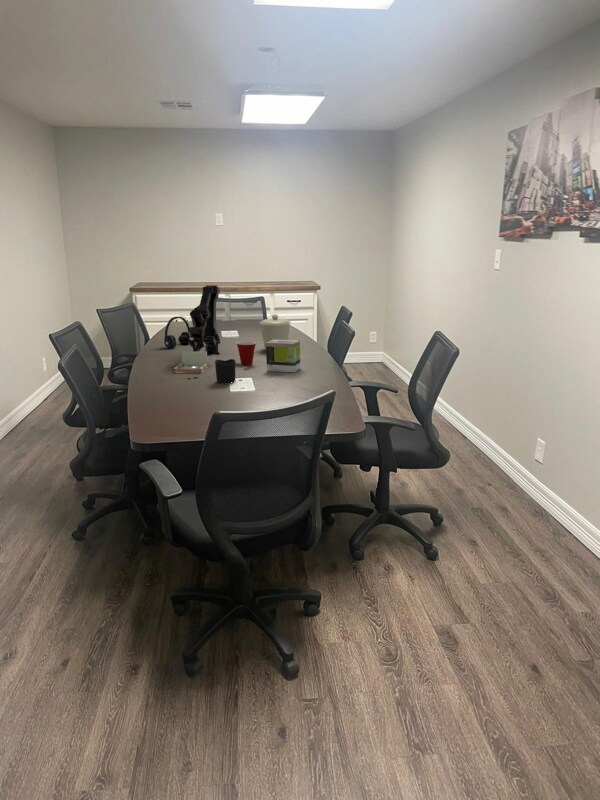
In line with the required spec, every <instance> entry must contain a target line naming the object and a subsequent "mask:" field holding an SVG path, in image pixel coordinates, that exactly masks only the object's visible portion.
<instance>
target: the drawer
mask: <svg viewBox="0 0 600 800" xmlns="http://www.w3.org/2000/svg"><path fill="white" fill-rule="evenodd" d="M181 363H183V365H184V366H186V365H199V369H200V368H201V367H202V366H203V365H204V364H206V363H208V355H207V351H201V350H200V351H193V350H190V351H189V350H185V351H184V350H182V351H181ZM208 364H209V363H208ZM180 369H183V367H182V368H180Z"/></svg>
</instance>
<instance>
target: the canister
mask: <svg viewBox="0 0 600 800" xmlns="http://www.w3.org/2000/svg"><path fill="white" fill-rule="evenodd" d="M291 323H292V322H291V321H290V320H288V319H286V318H280V317H279V315H278V314H272V315H271V318H266V319H262V320H261V321H260V322H259V324H260V328H261V333H262V334H261V335H262V341H263V346H264V347H263V348H264V349H265V350H266V343H267V342H269V341H271V340H289V335H290V334H289V333H290V325H291Z"/></svg>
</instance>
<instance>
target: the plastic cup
mask: <svg viewBox="0 0 600 800" xmlns="http://www.w3.org/2000/svg"><path fill="white" fill-rule="evenodd" d="M235 344H236V346H237V350H238V355H239V359H240V363H241V366H251V364H252V365H253V361H254V357H255V356H254V355H255V348H256V346H257V342H255V341H246V340H245V341H244V340H243V341H242V340H241V341H236V342H235Z"/></svg>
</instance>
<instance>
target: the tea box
mask: <svg viewBox="0 0 600 800" xmlns="http://www.w3.org/2000/svg"><path fill="white" fill-rule="evenodd" d="M265 355H266V356H265V357H266V358H265V359H266V371H269V372H281V373H296V372H298V371H299V370H300V369H301V343H300V340H298V339H297V340H295V339H294V340H292V339H288V340H271V341H269V342H267V343H266V349H265Z"/></svg>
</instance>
